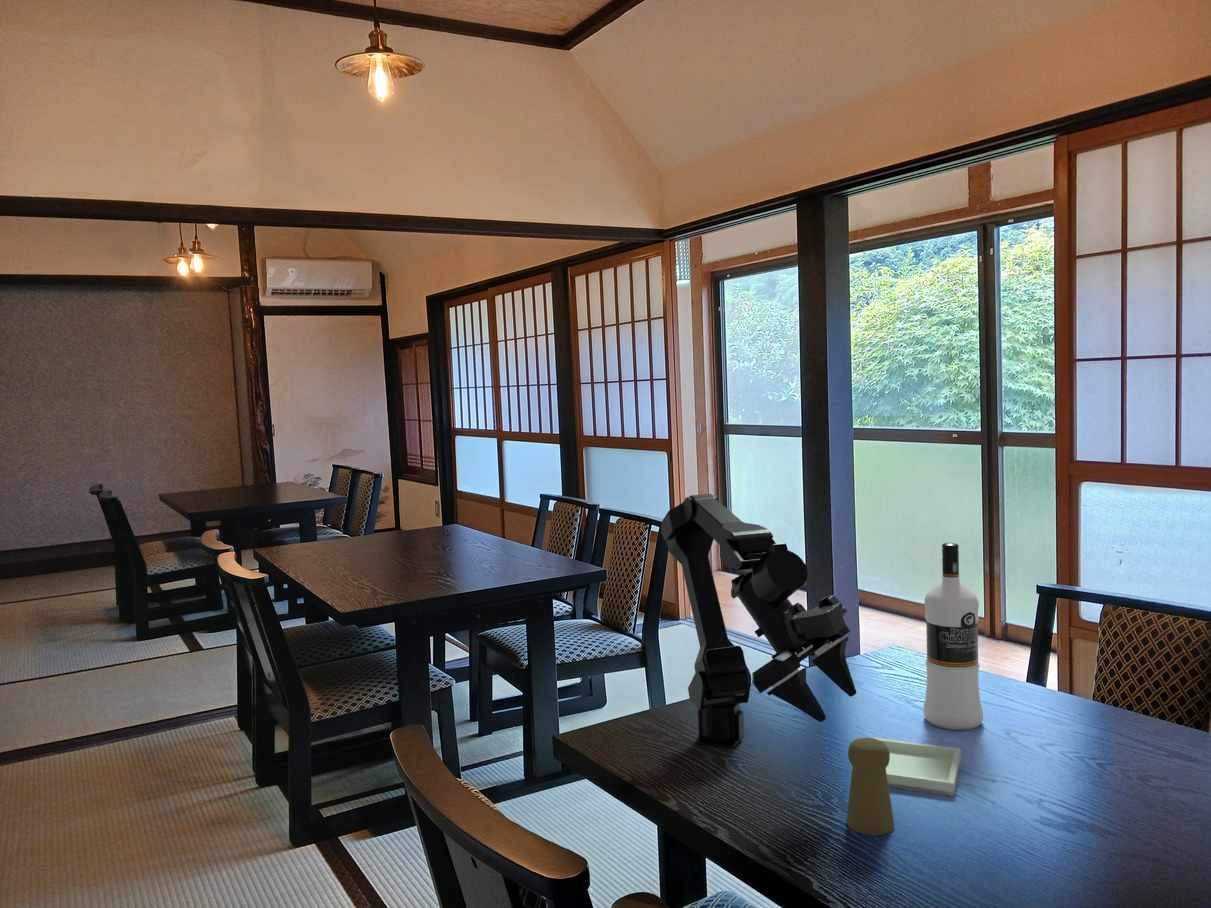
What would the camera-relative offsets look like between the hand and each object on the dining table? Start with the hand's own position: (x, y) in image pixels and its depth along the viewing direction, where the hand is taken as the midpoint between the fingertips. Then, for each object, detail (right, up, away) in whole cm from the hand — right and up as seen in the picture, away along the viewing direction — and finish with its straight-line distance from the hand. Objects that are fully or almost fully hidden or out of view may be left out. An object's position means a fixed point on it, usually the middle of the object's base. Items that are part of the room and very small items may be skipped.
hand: (839, 707), depth 123 cm
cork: (+3, -14, -6) cm, 15 cm away
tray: (+13, -12, +9) cm, 20 cm away
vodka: (+26, -10, +27) cm, 39 cm away
